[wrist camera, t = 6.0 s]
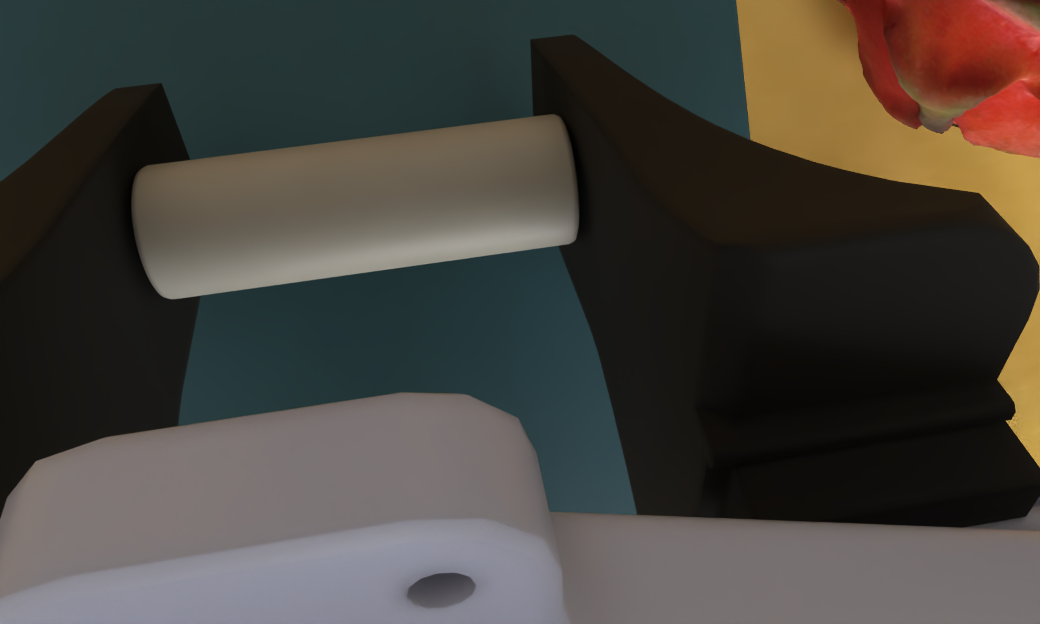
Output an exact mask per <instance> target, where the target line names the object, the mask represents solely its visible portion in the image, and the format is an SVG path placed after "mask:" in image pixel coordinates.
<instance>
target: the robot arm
mask: <svg viewBox="0 0 1040 624" xmlns="http://www.w3.org/2000/svg"><path fill="white" fill-rule="evenodd" d="M530 47H531V73H532V100H533V117H534V116H542V115H550V114H555V115H558V116H560V117H561V118H562V120H563V122H564V124H565V126H566V128H567V131H568V134H569V137H570V141H571V145H572V149H573V154H574V160H575V166H576V173H577V181H578V191H579V228H578V233H577V237H576V240H575V241H574V242H572V243H570V244H566V245H559V246H558V247H559V250H560V252H561V255H562V257H563V260H564V263H565V265H566V268H567V270H568V273H569V276H570V278H571V281H572V283H573V286H574V288H575V291H576V294H577V296H578V299H579V301H580V304H581V306H582V309H583V312H584V314H585V317H586V319H587V322H588V325H589V327H590V330H591V333H592V336H593V339H594V342H595V345H596V348H597V351H598V355H599V359H600V362H601V366H602V370H603V374H604V378H605V382H606V386H607V390H608V394H609V398H610V401H611V405H612V409H613V413H614V418H615V422H616V426H617V430H618V434H619V438H620V442H621V447H622V451H623V455H624V459H625V463H626V467H627V472H628V476H629V481H630V485H631V489H632V494H633V498H634V503H635V507H636V512H637V515H626V514H601V513H575V512H549V508H548V503H547V499H546V494H545V490H544V485H543V480H542V476H541V471H540V467H539V462H538V457H537V453H536V451H535V449H534V447H533V445H532V443H531V442H530V440H529V438H528V436H527V434H526V432H525V430H524V428H523V426H522V424H521V423H520V421H519V419H518V418H517V417H515V416H513V415H511V414H508V413H506V412H504V411H502V410H500V409H498V408H495V407H493V406H491V405H489V404H487V403H484V402H482V401H480V400H478V399H476V398H474V397H471V396H469V395H466V394H456V393H411V392H400V393H394V394H387V395H380V396H374V397H367V398H361V399H354V400H347V401H341V402H334V403H328V404H321V405H314V406H308V407H301V408H295V409H288V410H281V411H275V412H268V413H262V414H255V415H249V416H242V417H235V418H229V419H222V420H216V421H209V422H202V423H196V424H189V425H183V426H178V424H179V413H180V405H181V398H182V391H183V385H184V380H185V375H186V369H187V364H188V359H189V354H190V349H191V344H192V338H193V333H194V328H195V323H196V318H197V313H198V307H199V302H200V297H201V296H194V297H187V298H180V299H169V298H165V297H163V296H161V295H160V294H159V293H158V292H157V291H156V290H155V288H154V287H153V285H152V284H151V282H150V280H149V278H148V276H147V274H146V272H145V269H144V267H143V264H142V262H141V259H140V256H139V252H138V249H137V245H136V241H135V236H134V230H133V223H132V212H131V199H132V187H133V182H134V178H135V176H136V174H137V172H138V171H139V170H140V169H142V168H143V167H145V166H147V165H155V164H163V163H171V162H179V161H186V160H190V157H189V155H188V152H187V149H186V147H185V144H184V141H183V139H182V136H181V133H180V131H179V128H178V125H177V123H176V120H175V117H174V115H173V112H172V109H171V106H170V104H169V101H168V98H167V96H166V93H165V90H164V88H163V85H162V83H156V84H148V85H139V86H131V87H122V88H115V89H113V90H112V91H110V92H109V93H107V94H106V95H104V96H103V97H101V98H100V99H99V100H98V101H96V102H95V103H94V104H93V105H91V106H90V107H89V108H88V109H87V110H85V111H84V112H83V113H82V114H81V115H80V116H78V117H77V118H76V119H75V120H74V121H73V122H71V123H70V124H69V125H68V126H67V127H66V128H65V129H63V130H62V131H61V132H60V133H59V134H58V135H56V136H55V137H54V138H53V139H52V140H51V141H49V142H48V143H47V144H46V145H45V146H44V147H42V148H41V149H40V150H39V151H38V152H37V153H36V154H34V155H33V156H32V157H31V158H30V159H28V160H27V161H26V162H25V163H24V164H22V165H21V166H20V167H19V168H17V169H16V170H15V171H13V172H12V173H11V174H10V175H8V176H7V177H6V178H4V179H3V180H2V181H1V182H0V624H1040V468H1039V466H1038V465H1037V463H1036V462H1035V461H1034V459H1033V458H1032V457H1031V455H1030V454H1029V452H1028V451H1027V450H1026V448H1025V447H1024V446H1023V444H1022V443H1021V442H1020V440H1019V439H1018V437H1017V436H1016V435H1015V433H1014V432H1013V431H1012V429H1011V428H1010V426H1009V425H1008V424H1007V422H1006V420H1011V419H1012V417H1013V416H1014V414H1015V412H1016V410H1015V404H1014V402H1013V400H1012V399H1011V398H1010V396H1009V395H1008V394H1007V392H1006V391H1005V390H1004V388H1003V387H1002V386H1001V384H1000V383H999V382H998V380H997V378H998V377H999V375H1000V373H1001V371H1002V369H1003V367H1004V365H1005V363H1006V361H1007V359H1008V357H1009V355H1010V354H1011V352H1012V350H1013V348H1014V346H1015V344H1016V342H1017V340H1018V338H1019V336H1020V334H1021V333H1022V331H1023V329H1024V327H1025V325H1026V323H1027V321H1028V319H1029V317H1030V314H1031V312H1032V309H1033V306H1034V303H1035V300H1036V298H1037V295H1038V292H1039V289H1040V283H1039V264H1038V263H1037V261H1036V259H1035V257H1034V255H1033V253H1032V251H1031V249H1030V247H1029V246H1028V245H1027V244H1026V243H1025V242H1024V240H1023V239H1022V238H1021V237H1020V236H1019V235H1018V234H1017V233H1016V232H1015V231H1014V230H1013V229H1012V228H1011V226H1010V225H1009V224H1008V223H1007V222H1006V221H1005V220H1004V219H1003V218H1002V217H1001V216H1000V215H999V214H998V212H997V211H996V210H995V209H994V208H993V207H992V206H991V205H990V204H989V203H988V202H987V201H986V200H985V199H984V198H983V197H982V196H981V195H980V194H979V193H975V192H968V191H961V190H953V189H946V188H939V187H932V186H925V185H918V184H911V183H904V182H897V181H892V180H887V179H882V178H878V177H873V176H869V175H864V174H860V173H855V172H851V171H846V170H842V169H838V168H834V167H831V166H827V165H823V164H819V163H816V162H812V161H809V160H806V159H803V158H800V157H797V156H794V155H791V154H788V153H785V152H782V151H778V150H775V149H773V148H770V147H767V146H765V145H762V144H759V143H757V142H754V141H751V140H749V139H747V138H745V137H742V136H740V135H738V134H735V133H733V132H731V131H729V130H726V129H724V128H722V127H720V126H717V125H715V124H713V123H711V122H709V121H707V120H705V119H703V118H701V117H699V116H697V115H696V114H694V113H692V112H690V111H689V110H687V109H685V108H683V107H682V106H680V105H678V104H676V103H674V102H673V101H671V100H669V99H668V98H666V97H664V96H663V95H661V94H660V93H658V92H656V91H655V90H653V89H652V88H650V87H649V86H647V85H645V84H644V83H642V82H641V81H639V80H638V79H637V78H635V77H634V76H632V75H631V74H629V73H628V72H626V71H625V70H624V69H622V68H621V67H619V66H618V65H616V64H615V63H614V62H612V61H611V60H610V59H608V58H607V57H605V56H604V55H603V54H601V53H600V52H599V51H597V50H596V49H594V48H593V47H592V46H590V45H589V44H588V43H586V42H585V41H583V40H582V39H580V38H579V37H577V36H575V35H574V34H571V35H563V36H554V37H546V38H537V39H530Z"/></svg>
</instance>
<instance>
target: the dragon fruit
mask: <svg viewBox="0 0 1040 624" xmlns="http://www.w3.org/2000/svg"><path fill="white" fill-rule="evenodd" d="M837 1H839V2H841V3H842V4H843V5H844V6H845V7H846V8H847V9H848V10H849V11H850V12H851V14H852V15H853V17H854V19H855V22H856V25H857V33H858V51H859V58H860V61H861V64H862V67H863V75H864V77H865V79H866V81H867V83H868V85H869V87H870V88H871V90H872V91H873V93H874V94H875V96H876V97H877V99H878V100H879V102H880V103H881V104H882V105H883V107H884V109H885V110H886V111H887V112H888V113H889V114H890V115H891V116H892V117H893V118H895V119H896V120H898V121H900V122H901V123H903V124H905V125H907V126H909V127H911V128H914V129H918V128H919V127H920V126H921V125H923V126H924V127H926V128H927V129H929V130H931V131H934V132H936V133H940V134H942V133H944V131H947V130H948V129H949V128H950V127H951V125H952V126H955V127H959V128H960V130H961V132H962V134H963V137H964V139H965V140H967V141H968V142H970V143H971V144H973V145H979V146H985V147H990V148H994V149H996V150H999V151H1003V152H1006V153H1010V154H1017V155H1024V156H1030V157H1037V158H1040V0H837Z"/></svg>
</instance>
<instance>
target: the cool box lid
mask: <svg viewBox="0 0 1040 624" xmlns="http://www.w3.org/2000/svg"><path fill="white" fill-rule="evenodd" d="M571 34H574V35H575V36H577V37H579V38H580V39H582V40H583V41H585V42H586V43H588V44H589V45H590V46H592V47H593V48H594V49H596V50H597V51H599V52H600V53H601V54H603V55H604V56H605V57H607V58H608V59H610V60H611V61H612V62H614V63H615V64H616V65H618V66H619V67H621V68H622V69H624V70H625V71H626V72H628V73H629V74H631V75H632V76H634V77H635V78H637V79H638V80H639V81H641V82H642V83H644V84H645V85H647V86H649V87H650V88H652V89H653V90H655V91H656V92H658V93H660V94H661V95H663V96H664V97H666V98H668V99H669V100H671V101H673V102H674V103H676V104H678V105H680V106H682V107H683V108H685V109H687V110H689V111H690V112H692V113H694V114H696V115H697V116H699V117H701V118H703V119H705V120H707V121H709V122H711V123H713V124H715V125H717V126H720V127H722V128H724V129H726V130H729V131H731V132H733V133H735V134H738V135H740V136H742V137H745V138H747V139H749V140H750V131H749V122H748V112H747V102H746V92H745V83H744V73H743V63H742V54H741V44H740V34H739V24H738V15H737V5H736V0H0V182H1V181H2V180H3V179H4V178H6V177H7V176H8V175H10V174H11V173H12V172H13V171H15V170H16V169H17V168H19V167H20V166H21V165H22V164H24V163H25V162H26V161H27V160H28V159H30V158H31V157H32V156H33V155H34V154H36V153H37V152H38V151H39V150H40V149H41V148H42V147H44V146H45V145H46V144H47V143H48V142H49V141H51V140H52V139H53V138H54V137H55V136H56V135H58V134H59V133H60V132H61V131H62V130H63V129H65V128H66V127H67V126H68V125H69V124H70V123H71V122H73V121H74V120H75V119H76V118H77V117H78V116H80V115H81V114H82V113H83V112H84V111H85V110H87V109H88V108H89V107H90V106H91V105H93V104H94V103H95V102H96V101H98V100H99V99H100V98H101V97H103V96H104V95H106V94H107V93H109V92H110V91H112V90H113V89H115V88H122V87H131V86H139V85H148V84H156V83H162V85H163V88H164V90H165V93H166V96H167V98H168V101H169V104H170V106H171V109H172V112H173V115H174V117H175V120H176V123H177V125H178V128H179V131H180V133H181V136H182V139H183V141H184V144H185V147H186V149H187V152H188V155H189V157H190V160H186V161H179V162H171V163H163V164H155V165H147V166H145V167H143V168H142V169H140V170H139V171H138V172H137V174H136V176H135V178H134V182H133V187H132V199H131V212H132V223H133V230H134V236H135V241H136V245H137V249H138V252H139V256H140V259H141V262H142V264H143V267H144V269H145V272H146V274H147V276H148V278H149V280H150V282H151V284H152V285H153V287H154V288H155V290H156V291H157V292H158V293H159V294H160V295H161V296H163V297H165V298H169V299H180V298H187V297H194V296H201V297H200V302H199V307H198V313H197V318H196V323H195V328H194V333H193V338H192V344H191V349H190V354H189V359H188V364H187V369H186V375H185V380H184V385H183V391H182V398H181V405H180V413H179V424H178V426H183V425H189V424H196V423H202V422H209V421H216V420H222V419H229V418H235V417H242V416H249V415H255V414H262V413H268V412H275V411H281V410H288V409H295V408H301V407H308V406H314V405H321V404H328V403H334V402H341V401H347V400H354V399H361V398H367V397H374V396H380V395H387V394H394V393H400V392H411V393H456V394H466V395H469V396H471V397H474V398H476V399H478V400H480V401H482V402H484V403H487V404H489V405H491V406H493V407H495V408H498V409H500V410H502V411H504V412H506V413H508V414H511V415H513V416H515V417H517V418H518V419H519V421H520V423H521V424H522V426H523V428H524V430H525V432H526V434H527V436H528V438H529V440H530V442H531V443H532V445H533V447H534V449H535V451H536V453H537V457H538V462H539V467H540V471H541V476H542V480H543V485H544V490H545V494H546V499H547V503H548V508H549V512H575V513H601V514H626V515H637V512H636V507H635V503H634V498H633V494H632V489H631V485H630V481H629V476H628V472H627V467H626V463H625V459H624V455H623V451H622V447H621V442H620V438H619V434H618V430H617V426H616V422H615V418H614V413H613V409H612V405H611V401H610V398H609V394H608V390H607V386H606V382H605V378H604V374H603V370H602V366H601V362H600V359H599V355H598V351H597V348H596V345H595V342H594V339H593V336H592V333H591V330H590V327H589V325H588V322H587V319H586V317H585V314H584V312H583V309H582V306H581V304H580V301H579V299H578V296H577V294H576V291H575V288H574V286H573V283H572V281H571V278H570V276H569V273H568V270H567V268H566V265H565V263H564V260H563V257H562V255H561V252H560V250H559V247H558V246H559V245H566V244H570V243H572V242H574V241H575V240H576V237H577V233H578V228H579V191H578V181H577V173H576V166H575V160H574V154H573V149H572V145H571V141H570V137H569V134H568V131H567V128H566V126H565V124H564V122H563V120H562V118H561V117H560V116H558V115H555V114H550V115H542V116H534V117H533V100H532V73H531V47H530V39H537V38H546V37H554V36H563V35H571Z"/></svg>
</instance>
